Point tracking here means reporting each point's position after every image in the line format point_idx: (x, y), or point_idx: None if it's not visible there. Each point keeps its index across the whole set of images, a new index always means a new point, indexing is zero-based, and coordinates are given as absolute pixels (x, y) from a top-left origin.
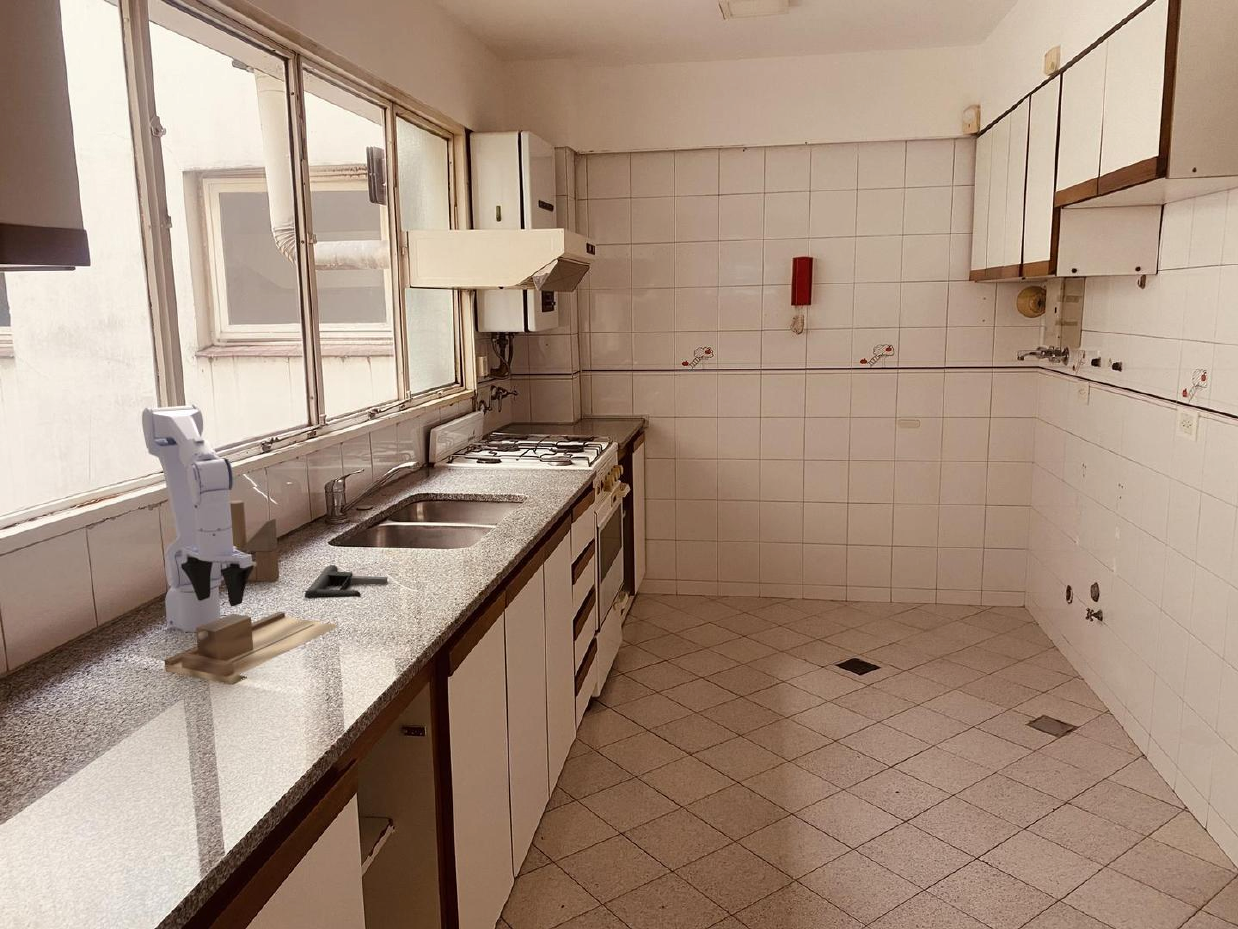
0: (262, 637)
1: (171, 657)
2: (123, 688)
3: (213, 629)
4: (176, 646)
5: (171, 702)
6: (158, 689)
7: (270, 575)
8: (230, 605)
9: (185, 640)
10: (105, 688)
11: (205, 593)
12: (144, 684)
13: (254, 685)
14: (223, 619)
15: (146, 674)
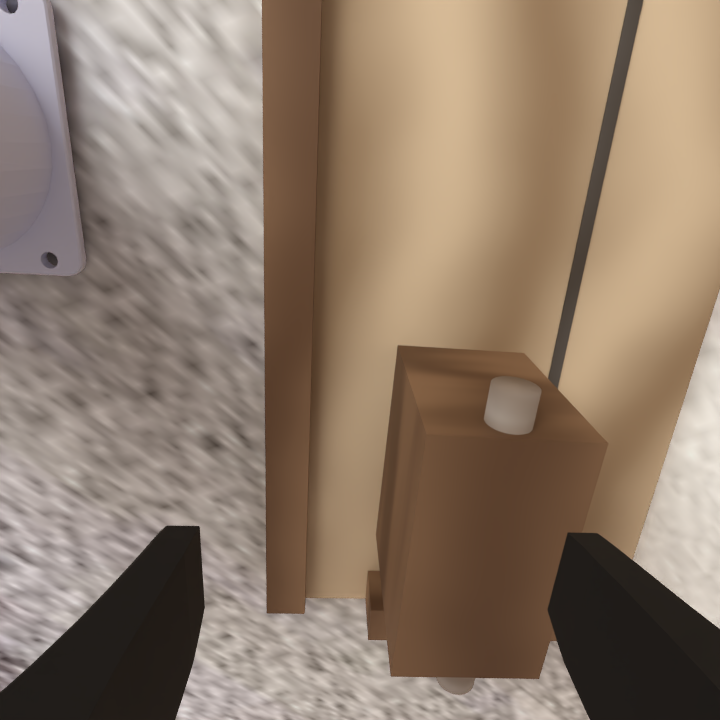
0: (463, 192)
1: (273, 589)
2: (266, 699)
3: (510, 663)
4: (55, 374)
5: (496, 710)
6: (382, 671)
7: None
8: (551, 615)
9: (12, 294)
10: (210, 715)
11: (188, 606)
12: (303, 663)
13: (689, 557)
14: (447, 536)
15: (232, 613)
